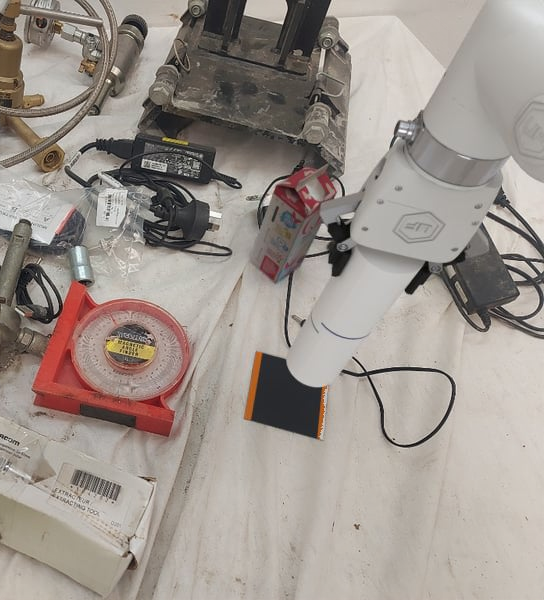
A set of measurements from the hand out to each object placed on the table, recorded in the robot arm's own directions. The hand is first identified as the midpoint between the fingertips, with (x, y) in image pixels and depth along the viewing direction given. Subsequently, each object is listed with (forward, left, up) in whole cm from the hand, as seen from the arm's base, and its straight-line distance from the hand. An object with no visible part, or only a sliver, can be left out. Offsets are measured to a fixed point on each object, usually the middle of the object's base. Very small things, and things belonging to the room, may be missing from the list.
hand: (371, 274), depth 62 cm
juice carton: (+21, -17, -32) cm, 42 cm away
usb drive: (+12, -28, -32) cm, 44 cm away
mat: (+1, -1, -32) cm, 32 cm away
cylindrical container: (0, 0, -20) cm, 20 cm away
